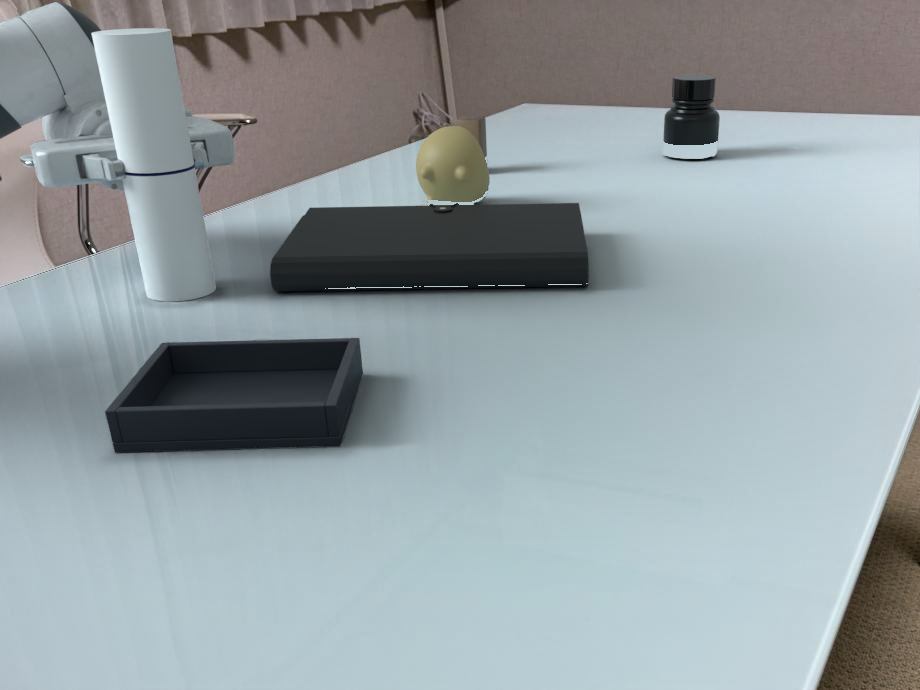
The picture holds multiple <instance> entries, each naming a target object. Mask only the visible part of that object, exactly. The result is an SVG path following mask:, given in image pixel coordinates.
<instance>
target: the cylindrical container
mask: <svg viewBox="0 0 920 690" xmlns="http://www.w3.org/2000/svg"><path fill="white" fill-rule="evenodd" d="M91 34H92V38H93V43H94V48H95V53H96V57H97V62H98V67H99V72H100V76H101V81H102V86H103V91H104V95H105V100H106V105H107V110H108V114H109V119H110V124H111V129H112V134H113V138H114V143H115V148H116V153H117V157H118V159H119V160H121V161H122V162H123V165H124V169H123V171H124V172H125V175H126V178H125V179H122V181H123V186H124V191H123V192H124V195H125V200H126V205H127V210H128V214H129V219H130V223H131V228H132V233H133V238H134V242H135V247H136V251H137V257H138V262H139V266H140V271H141V276H142V281H143V284H144V291H145V295H146V297H147V298H148V299H150V300H152V301H157V302H184V301H190V300H196V299H200V298H203V297H207V296H208V295H209V296H210V295H211V294H213V293H214V292H215V291H216V290H217V285H216V280H215V274H214V269H213V262H212V258H211V257H212V256H211V252H210V245H209V240H208V236H207V235H208V234H207V228H206V224H205V218H204V217H205V216H204V211H203V207H202V201H201V195H200V189H199V182H198V177H197V172H196V170H195V166H194V160H193V154H192V148H191V143H190V137H189V131H188V126H187V120H186V114H185V109H186V108H185V103H184V97H183V93H182V87H181V80H180V73H179V69H178V63H177V57H176V51H175V46H174V41H173V35H172V29H170V28H161V27H138V28H137V27H136V28H135V27H134V28H133V27H132V28H117V29H115V28H114V29H105V30H104V29H103V30H101V31H97V32H92V33H91ZM184 108H185V109H184Z"/></svg>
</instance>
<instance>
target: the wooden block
mask: <svg viewBox="0 0 920 690" xmlns="http://www.w3.org/2000/svg"><path fill="white" fill-rule="evenodd" d="M486 121H487V120H486V117H485V116H484V115H462V116H459V117H457V118H456V119H455V120H454V126H460V127H464V128H466V129H467V130H468V131H470V132H471V133H472V134H473V136H474V137H475V138H476V140H477V141H478V143H479V145H480V147H481V149H482V151H483V154H484V157H486V156H487V157H488V149H487V147H488V146H487V123H486Z"/></svg>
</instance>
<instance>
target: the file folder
mask: <svg viewBox="0 0 920 690" xmlns="http://www.w3.org/2000/svg"><path fill="white" fill-rule="evenodd" d="M582 217H583V216H582V212H581V208H580V203H579V202H558V203H557V202H553V203H552V202H551V203H545V202H544V203H503V204H502V203H500V204H499V203H496V204H495V203H494V204H492V203H491V204H474V205H459V204H458V203H456V204H454V205H433V204H430V205H429V206H428V205H386V206H385V205H383V206H382V205H381V206H379V205H378V206H330V207H329V206H327V207H309V208H308V209H307V211H305V214H303V215H302V216H301V217H300V219H299V220H298V222H297V223H296V224H295V225H294V227H293V229H292V230H291V231H290V233H289V234H288V236H287V237H286V239H285V240H284V241H283V243H282V244H281V245H280V247H279V248H278V249H277V251H276V252H275V254H274V255H273V257H272V258H271V261H270V266H269V267H270V268H269V276H270V278H269V279H270V284H271V287H272V290H273V291H274V292H275V293H278V292H279V293H282V292H283V293H286V292H287V293H288V292H336V291H338V292H339V291H342V292H343V291H388V290H389V291H392V290H397V291H399V290H401V291H402V290H448V289H450V290H453V289H456V290H457V289H503V288H505V289H507V288H508V289H509V288H513V289H514V288H553V287H554V288H555V287H556V288H561V287H564V288H565V287H568V288H569V287H570V288H571V287H588V286H589V275H590V274H589V272H590V270H589V269H590V268H589V251H588V246H587V241H586V236H585V235H586V234H585V230H584V229H585V228H584V222H583V218H582ZM586 283H588V284H586ZM548 284H582V285H548ZM478 285H495V286H478ZM498 285H525V286H498ZM403 286H404V287H412V288H356V287H403ZM414 286H417V287H414ZM419 286H421V287H419ZM424 286H468V287H424ZM347 287H348V288H350V287H355V288H356V289H328V288H347ZM325 288H326V289H325Z"/></svg>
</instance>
